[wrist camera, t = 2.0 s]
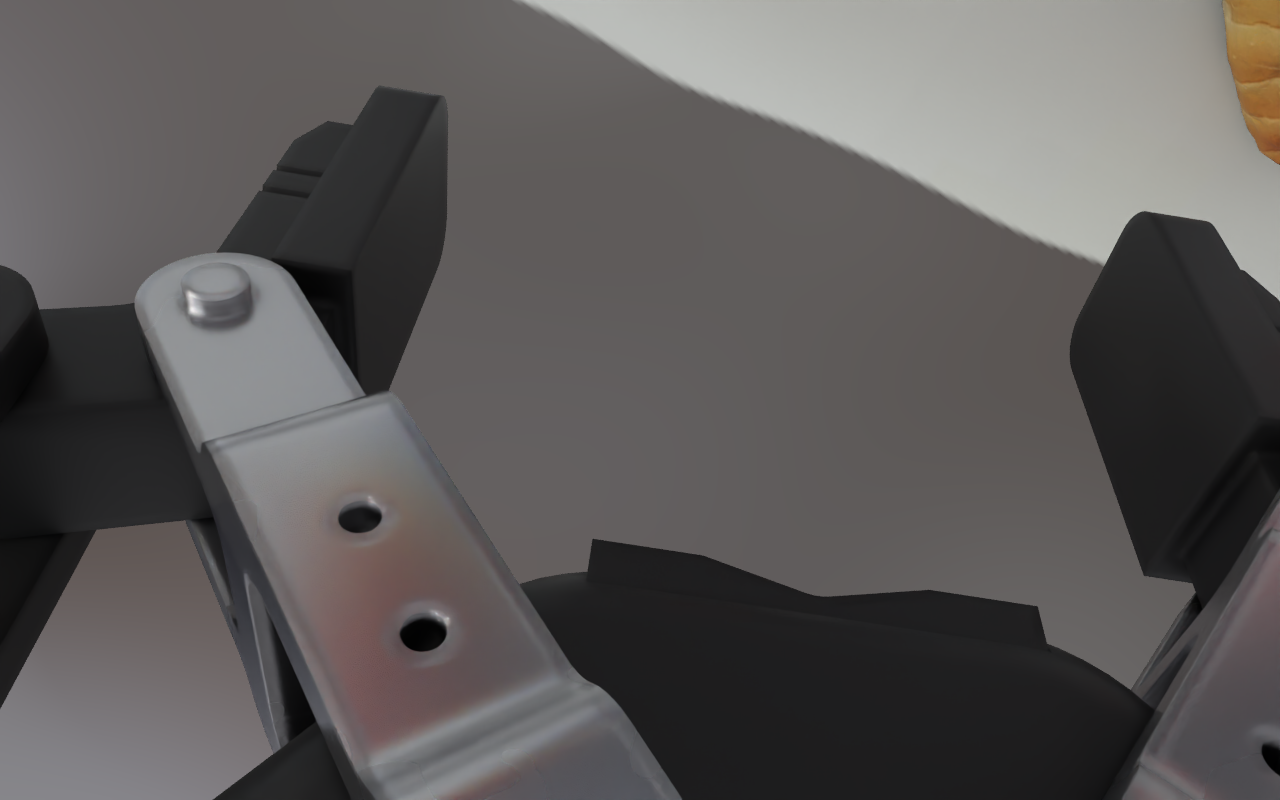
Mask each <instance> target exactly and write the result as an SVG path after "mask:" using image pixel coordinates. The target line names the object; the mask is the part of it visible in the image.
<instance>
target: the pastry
mask: <svg viewBox="0 0 1280 800" xmlns="http://www.w3.org/2000/svg"><path fill="white" fill-rule="evenodd" d="M1222 6H1223V12H1224V18H1225V27H1226V40H1227V55H1228V61H1229V64H1230V66H1231V70H1232V74H1233V78H1234V81H1235V85H1236V89H1237V94H1238V98H1239V101H1240V104H1241V109H1242V113H1243V116H1244V119H1245V122H1246V125H1247V128H1248V130H1249V132H1250V133H1251V134H1252V136H1253V137H1254V139H1255V141H1256V143H1257V146H1258V148H1259V151H1261V152H1262V153H1263V154H1264V155H1265V156H1267V157H1269V158H1270V159H1272V160H1273V161H1274V162H1276V163H1277V164H1279V165H1280V0H1222Z"/></svg>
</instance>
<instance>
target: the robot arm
mask: <svg viewBox="0 0 1280 800" xmlns="http://www.w3.org/2000/svg"><path fill="white" fill-rule="evenodd" d="M447 144H448V111H447V103H446V100H445V97H444V96H441V95H435V94H429V93H422V92H416V91H410V90H403V89H397V88H392V87H385V86H378V87H377V88H376V89H375V91H374V93H373V94H372V95H371V97H370V99H369V101H368V102H367V104H366V105H365V107H364V108H363V110H362V112H361V113H360V115H359V116H358V118H357V120H356V121H355V123H354V125H349V124H342V123H336V122H330V121H327V122H325V123H324V124H322V125H320V126H318V127H317V128H315V129H313V130H311V131H310V132H308V133H306V134H304V135H302V136H301V137H299V138H297V139H296V140H294V141H293V143H292V144H291V146H290V147H289V149H288V150H287V151H286V153H285V154H284V156H283V157H282V159H281V160H280V162H279V163H278V164H277V170H273V172H272V173H271V174H270V176H269V178H268V179H267V180H266V182H265V183H264V184H263V190H262V191H259V192H258V193H257V195H256V196H255V197H254V199H253V200H252V202H251V203H250V205H249V206H248V208H247V209H246V210H245V212H244V214H243V215H242V216H241V218H240V219H239V221H238V222H237V223H236V225H235V226H234V228H233V229H232V231H231V232H230V234H229V235H228V236H227V238H226V239H225V241H224V242H223V244H222V245H221V247H220V248H219V249H218V251H217V252H216V253H209V254H202V255H196V256H192V257H188V258H184V259H181V260H179V261H176V262H173V263H171V264H169V265H167V266H165V267H163V268H161V269H159V270H158V271H156V272H155V273H154V274H152V275H151V276H150V277H149V278H148V279H147V280H146V281H144V282H143V284H142V285H141V287H140V288H139V290H138V292H137V295H136V297H135V303H131V304H125V305H115V306H100V307H80V308H61V309H41V310H39V308H38V304H37V301H36V298H35V295H34V292H33V290H32V287H31V285H30V283H29V282H28V281H27V280H26V278H24V277H23V276H22V275H20V274H19V273H18V272H16V271H13V270H12V269H10V268H7V267H4V266H1V265H0V708H1V706H2V704H3V703H4V701H5V699H6V697H7V695H8V693H9V691H10V690H11V688H12V686H13V684H14V682H15V680H16V678H17V676H18V675H19V673H20V671H21V669H22V667H23V665H24V664H25V662H26V660H27V658H28V656H29V654H30V652H31V650H32V649H33V647H34V645H35V643H36V641H37V639H38V637H39V636H40V634H41V632H42V630H43V628H44V626H45V624H46V623H47V621H48V619H49V617H50V615H51V613H52V611H53V609H54V608H55V606H56V604H57V602H58V600H59V598H60V596H61V595H62V593H63V591H64V589H65V587H66V585H67V583H68V582H69V580H70V578H71V576H72V574H73V572H74V570H75V569H76V567H77V565H78V563H79V561H80V559H81V557H82V556H83V553H84V551H85V550H86V548H87V546H88V544H89V542H90V541H91V539H92V537H93V535H94V533H95V531H96V530H97V529H107V528H115V527H126V526H135V525H144V524H154V523H164V522H173V521H183V520H186V524H187V526H188V529H189V531H190V533H191V536H192V539H193V541H194V544H195V546H196V549H197V551H198V553H199V556H200V558H201V561H202V563H203V566H204V568H205V571H206V573H207V575H208V578H209V580H210V583H211V585H212V588H213V590H214V592H215V595H216V597H217V600H218V602H219V605H220V607H221V610H222V612H223V615H224V617H225V619H226V622H227V624H228V627H229V629H230V632H231V634H232V637H233V639H234V641H235V644H236V646H237V649H238V651H239V654H240V657H241V659H242V662H243V665H244V668H245V671H246V674H247V677H248V680H249V683H250V687H251V690H252V694H253V697H254V700H255V703H256V707H257V710H258V713H259V716H260V718H261V721H262V724H263V727H264V730H265V733H266V735H267V738H268V741H269V743H270V746H271V749H272V751H273V755H271V756H270V757H269V758H268V759H266V760H265V761H264V762H262V763H261V764H260V765H258V766H257V767H256V768H254V769H253V770H252V771H251V772H249V773H248V774H246V775H245V776H244V777H242V778H241V779H240V780H238V781H237V782H236V783H235V784H233V785H232V786H231V787H230V788H228V789H227V790H225V791H224V792H223V793H221V794H220V795H219V796H217V797H216V798H215V799H213V800H1280V302H1279V300H1278V299H1277V298H1276V297H1274V296H1273V295H1272V294H1271V293H1270V292H1269V291H1267V290H1266V289H1265V288H1264V287H1263V286H1262V285H1260V284H1259V283H1258V282H1257V281H1256V280H1255V279H1253V278H1252V277H1251V276H1250V275H1249V274H1248V273H1246V272H1245V271H1244V270H1240V268H1239V266H1238V265H1237V263H1236V262H1235V260H1234V258H1233V257H1232V255H1231V253H1230V252H1229V250H1228V248H1227V247H1226V245H1225V243H1224V242H1223V240H1222V238H1221V237H1220V235H1219V233H1218V232H1217V230H1216V229H1215V227H1214V226H1213V225H1212V224H1211V223H1210V222H1207V221H1202V220H1195V219H1189V218H1183V217H1177V216H1171V215H1165V214H1158V213H1152V212H1146V211H1144V212H1140V213H1138V214H1136V215H1135V216H1134V217H1133V218H1132V219H1131V220H1130V221H1129V222H1128V224H1127V225H1126V226H1125V228H1124V230H1123V231H1122V233H1121V235H1120V237H1119V239H1118V241H1117V243H1116V245H1115V247H1114V249H1113V251H1112V253H1111V255H1110V256H1109V258H1108V260H1107V262H1106V264H1105V266H1104V268H1103V270H1102V272H1101V274H1100V276H1099V278H1098V280H1097V282H1096V283H1095V285H1094V287H1093V289H1092V291H1091V293H1090V295H1089V297H1088V299H1087V301H1086V303H1085V305H1084V306H1083V309H1082V310H1081V312H1080V314H1079V317H1078V319H1077V321H1076V323H1075V326H1074V330H1073V333H1072V338H1071V345H1070V364H1071V368H1072V372H1073V375H1074V378H1075V380H1076V383H1077V386H1078V389H1079V392H1080V394H1081V397H1082V400H1083V403H1084V406H1085V408H1086V411H1087V415H1088V417H1089V420H1090V423H1091V426H1092V429H1093V432H1094V434H1095V437H1096V440H1097V443H1098V446H1099V449H1100V452H1101V454H1102V457H1103V460H1104V463H1105V466H1106V469H1107V472H1108V474H1109V477H1110V480H1111V483H1112V486H1113V489H1114V492H1115V494H1116V496H1117V500H1118V503H1119V506H1120V509H1121V511H1122V514H1123V517H1124V520H1125V523H1126V526H1127V529H1128V531H1129V534H1130V537H1131V540H1132V543H1133V546H1134V549H1135V551H1136V554H1137V557H1138V560H1139V563H1140V566H1141V569H1142V571H1143V574H1144V576H1149V577H1156V578H1163V579H1168V580H1175V581H1182V582H1188V583H1193V586H1194V588H1195V591H1196V593H1195V594H1194V595H1193V596H1192V598H1191V599H1190V600H1189V602H1188V603H1187V604H1186V605H1185V607H1184V608H1183V609H1182V611H1181V612H1180V613H1179V614H1178V616H1177V618H1176V619H1175V621H1174V622H1173V624H1172V625H1171V627H1170V629H1169V630H1168V632H1167V633H1166V635H1165V637H1164V638H1163V640H1162V641H1161V643H1160V645H1159V646H1158V648H1157V649H1156V651H1155V653H1154V654H1153V656H1152V657H1151V659H1150V660H1149V662H1148V664H1147V665H1146V667H1145V668H1144V670H1143V672H1142V673H1141V675H1140V676H1139V678H1138V679H1137V681H1136V683H1135V684H1134V686H1133V687H1132V689H1131V690H1130V689H1128V688H1127V687H1125V686H1124V685H1122V684H1121V683H1120V682H1118V681H1117V680H1115V679H1114V678H1113V677H1111V676H1110V675H1108V674H1107V673H1105V672H1103V671H1101V670H1100V669H1098V668H1096V667H1095V666H1093V665H1091V664H1089V663H1088V662H1086V661H1084V660H1082V659H1080V658H1078V657H1076V656H1074V655H1072V654H1070V653H1068V652H1066V651H1063V650H1061V649H1059V648H1057V647H1054V646H1052V645H1049V644H1047V642H1046V638H1045V634H1044V630H1043V627H1042V622H1041V618H1040V614H1039V610H1038V607H1037V606H1031V605H1024V604H1018V603H1012V602H1005V601H998V600H991V599H985V598H979V597H972V596H965V595H959V594H952V593H946V592H939V591H933V590H922V591H909V592H893V593H878V594H864V595H849V596H833V597H820V596H814V595H810V594H807V593H804V592H801V591H798V590H796V589H793V588H790V587H787V586H785V585H782V584H779V583H776V582H774V581H771V580H768V579H766V578H763V577H760V576H757V575H754V574H752V573H749V572H746V571H744V570H741V569H738V568H735V567H733V566H730V565H727V564H724V563H721V562H719V561H716V560H714V559H711V558H708V557H705V556H702V555H696V554H688V553H683V552H676V551H669V550H663V549H656V548H649V547H643V546H636V545H630V544H623V543H616V542H609V541H604V540H597V539H593V540H592V546H591V553H590V559H589V566H588V572H579V573H568V574H561V575H555V576H549V577H544V578H539V579H535V580H532V581H529V582H526V583H522V584H519V583H518V582H517V580H516V579H515V577H514V576H513V574H512V573H511V571H510V569H509V568H508V566H507V565H506V563H505V562H504V560H503V559H502V557H501V556H500V554H499V553H498V551H497V549H496V548H495V546H494V545H493V543H492V542H491V540H490V538H489V537H488V536H487V534H486V532H485V531H484V529H483V528H482V526H481V524H480V523H479V521H478V520H477V519H476V517H475V515H474V514H473V512H472V511H471V509H470V508H469V506H468V505H467V503H466V501H465V500H464V498H463V497H462V495H461V494H460V492H459V491H458V489H457V487H456V486H455V485H454V483H453V481H452V480H451V478H450V476H449V475H448V473H447V472H446V470H445V469H444V467H443V466H442V464H441V463H440V461H439V459H438V458H437V456H436V455H435V453H434V452H433V450H432V449H431V447H430V446H429V444H428V442H427V441H426V439H425V438H424V436H423V435H422V433H421V431H420V430H419V428H418V427H417V425H416V424H415V422H414V421H413V419H412V418H411V416H410V415H409V413H408V411H407V410H406V408H405V407H404V406H403V404H402V402H401V401H400V400H399V398H397V396H396V395H395V394H394V393H392V392H391V391H389V388H390V385H391V383H392V380H393V378H394V375H395V373H396V370H397V368H398V365H399V363H400V360H401V358H402V355H403V353H404V350H405V348H406V345H407V343H408V340H409V338H410V336H411V333H412V330H413V328H414V326H415V323H416V320H417V318H418V315H419V313H420V311H421V308H422V306H423V303H424V301H425V298H426V296H427V293H428V291H429V288H430V286H431V283H432V280H433V278H434V275H435V273H436V271H437V268H438V265H439V262H440V259H441V255H442V250H443V245H444V238H445V231H446V220H447V150H448V148H447V146H448V145H447Z"/></svg>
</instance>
